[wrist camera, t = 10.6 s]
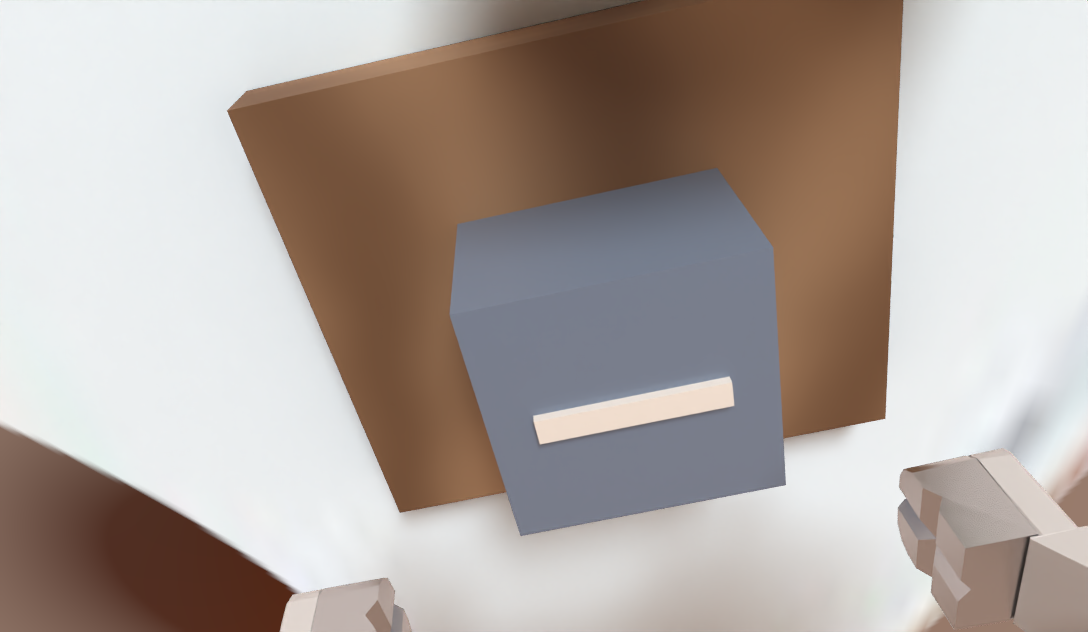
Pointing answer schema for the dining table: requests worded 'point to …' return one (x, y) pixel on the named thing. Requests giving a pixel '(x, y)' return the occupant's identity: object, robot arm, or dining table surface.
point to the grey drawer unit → (623, 350)
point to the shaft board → (586, 192)
